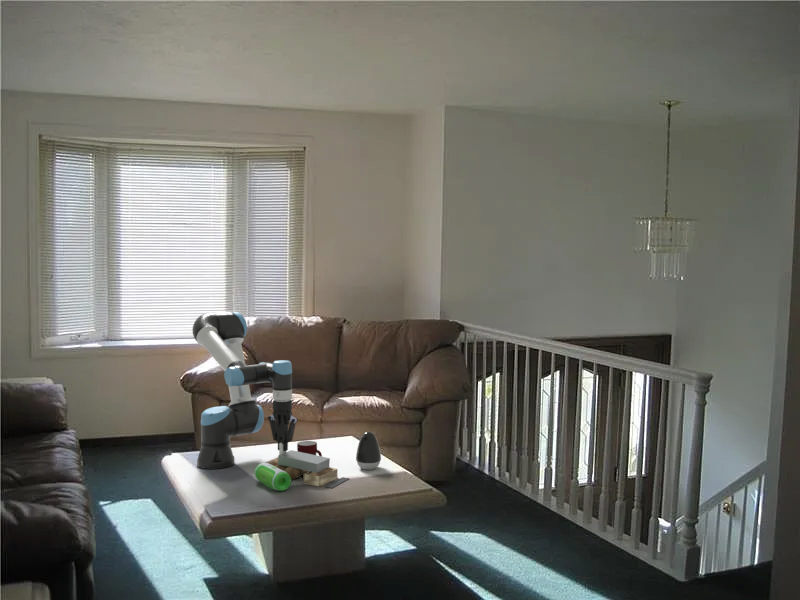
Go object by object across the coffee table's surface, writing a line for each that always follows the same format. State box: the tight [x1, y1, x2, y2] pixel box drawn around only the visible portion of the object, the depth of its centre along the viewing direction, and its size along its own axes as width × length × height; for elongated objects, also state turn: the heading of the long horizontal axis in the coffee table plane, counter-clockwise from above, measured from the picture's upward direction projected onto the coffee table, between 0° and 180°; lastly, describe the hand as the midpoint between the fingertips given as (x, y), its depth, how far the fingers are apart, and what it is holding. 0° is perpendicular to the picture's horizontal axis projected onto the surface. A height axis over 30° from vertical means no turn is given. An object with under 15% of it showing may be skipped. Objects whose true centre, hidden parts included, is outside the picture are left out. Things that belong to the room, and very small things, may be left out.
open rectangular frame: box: [302, 466, 338, 487], centre depth 285 cm, size 8×13×4 cm, turn 154°
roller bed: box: [264, 456, 309, 481], centre depth 293 cm, size 17×10×5 cm, turn 64°
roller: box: [309, 466, 332, 476], centre depth 285 cm, size 5×10×5 cm
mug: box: [296, 440, 323, 457], centre depth 303 cm, size 10×8×10 cm
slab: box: [277, 449, 331, 473], centre depth 288 cm, size 18×9×4 cm, turn 64°
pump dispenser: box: [355, 431, 382, 471], centre depth 301 cm, size 10×10×15 cm
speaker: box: [254, 462, 292, 492], centre depth 278 cm, size 18×7×8 cm, turn 37°
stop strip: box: [324, 476, 350, 489], centre depth 282 cm, size 3×13×1 cm, turn 154°
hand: (282, 458), depth 293 cm, fingers closed
